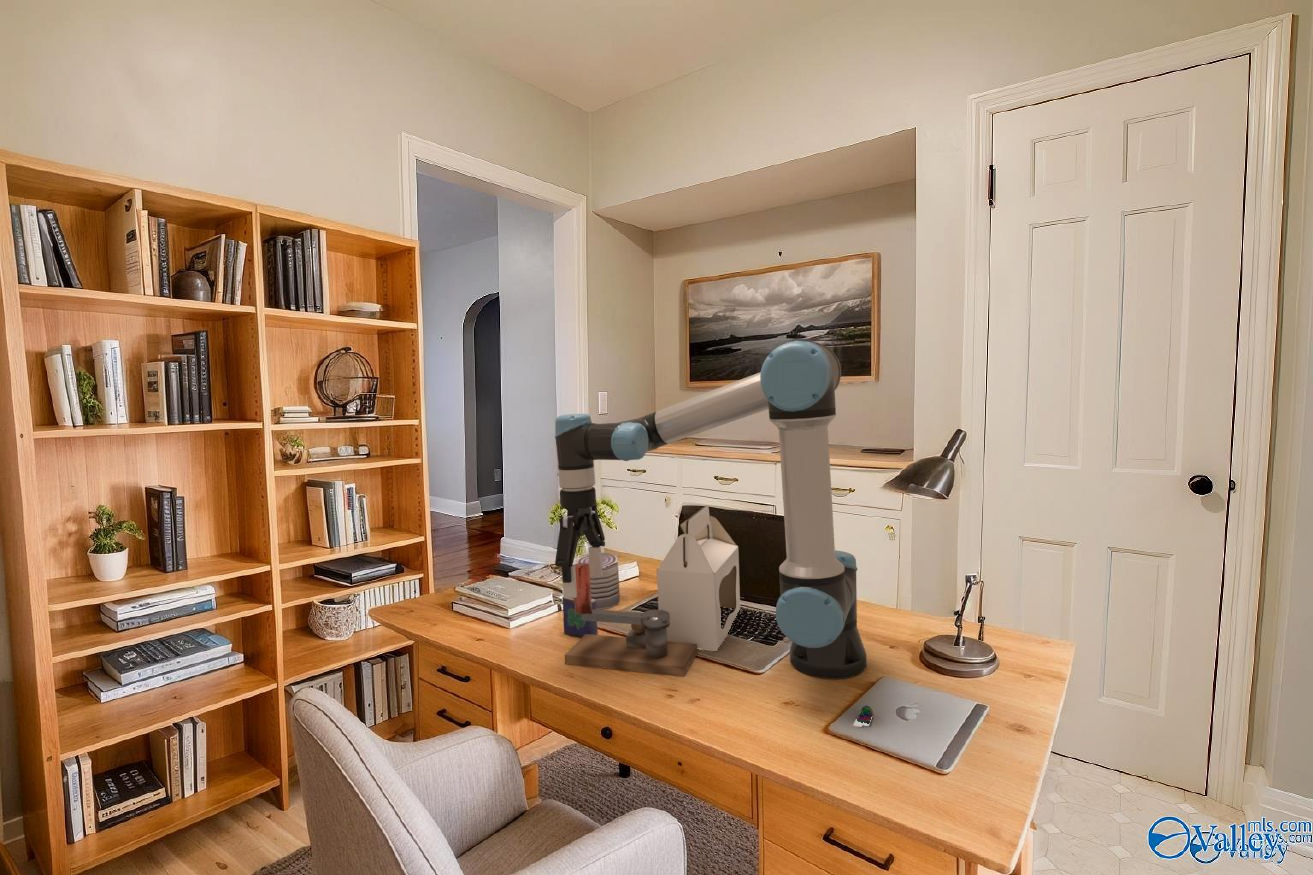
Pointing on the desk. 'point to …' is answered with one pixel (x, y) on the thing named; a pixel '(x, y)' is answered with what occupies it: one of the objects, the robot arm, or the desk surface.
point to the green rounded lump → (865, 714)
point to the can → (605, 582)
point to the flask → (577, 620)
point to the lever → (584, 607)
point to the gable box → (700, 582)
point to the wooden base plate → (634, 652)
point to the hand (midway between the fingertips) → (584, 586)
